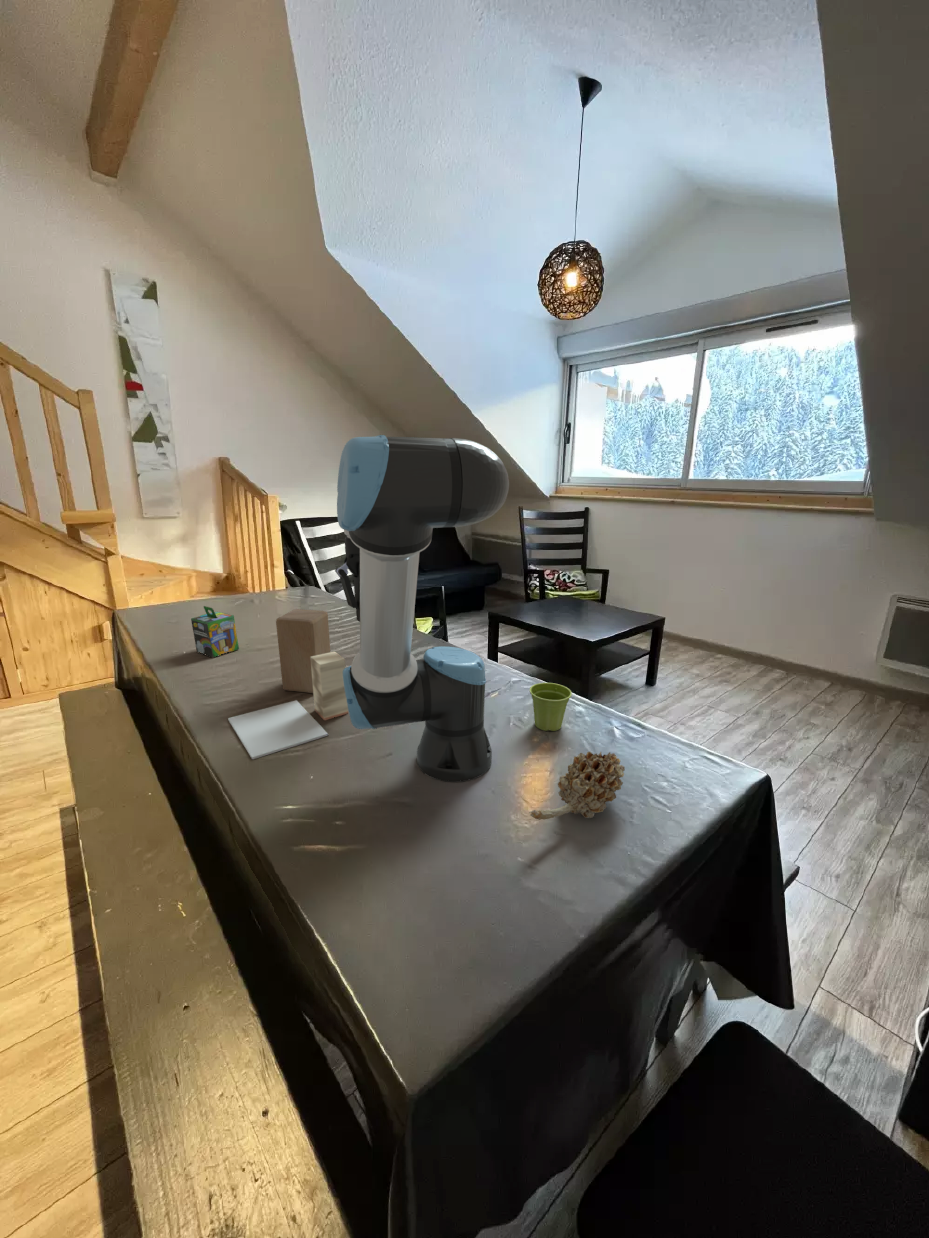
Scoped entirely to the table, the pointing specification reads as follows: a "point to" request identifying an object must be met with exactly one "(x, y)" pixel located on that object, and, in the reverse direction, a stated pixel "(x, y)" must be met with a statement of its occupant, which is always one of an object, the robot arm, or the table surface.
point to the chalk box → (214, 633)
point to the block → (301, 646)
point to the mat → (276, 728)
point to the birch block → (329, 685)
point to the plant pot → (549, 705)
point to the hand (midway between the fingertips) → (365, 633)
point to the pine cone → (587, 785)
